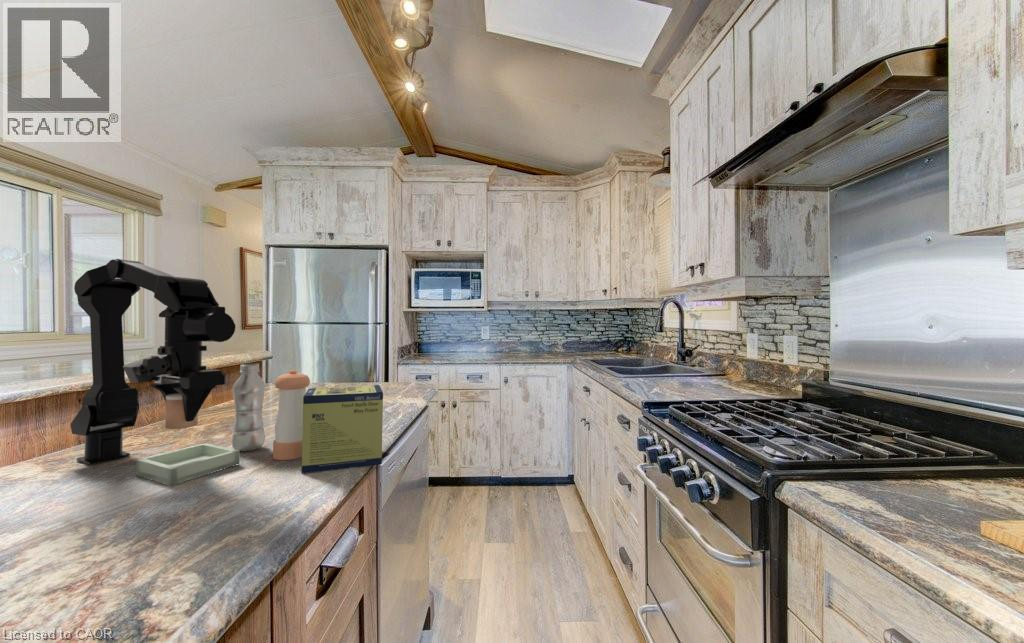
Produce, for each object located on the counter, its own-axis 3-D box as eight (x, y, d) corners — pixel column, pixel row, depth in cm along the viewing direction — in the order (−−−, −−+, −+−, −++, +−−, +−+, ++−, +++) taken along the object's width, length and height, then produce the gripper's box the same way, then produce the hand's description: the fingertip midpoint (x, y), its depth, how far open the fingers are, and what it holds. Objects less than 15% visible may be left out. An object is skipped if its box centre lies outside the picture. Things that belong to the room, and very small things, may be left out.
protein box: (383, 464, 84) (384, 391, 84) (300, 474, 78) (301, 395, 78) (379, 450, 93) (380, 384, 94) (305, 458, 87) (306, 387, 88)
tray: (135, 475, 77) (136, 459, 77) (204, 456, 88) (205, 443, 88) (170, 485, 72) (171, 469, 72) (239, 464, 83) (239, 450, 83)
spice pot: (159, 427, 77) (160, 395, 77) (189, 421, 82) (190, 391, 82) (173, 430, 75) (174, 397, 75) (203, 424, 79) (204, 393, 79)
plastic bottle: (271, 446, 95) (272, 363, 96) (250, 455, 89) (251, 366, 89) (246, 445, 96) (248, 362, 96) (223, 454, 89) (225, 365, 89)
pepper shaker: (298, 460, 86) (300, 372, 86) (265, 460, 86) (266, 371, 86) (315, 449, 93) (317, 368, 93) (285, 449, 93) (286, 368, 93)
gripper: (106, 340, 75) (104, 422, 75) (157, 343, 67) (155, 436, 67) (176, 339, 85) (175, 411, 85) (228, 341, 77) (226, 421, 77)
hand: (182, 419), depth 78 cm, fingers closed on spice pot, 5 cm apart
